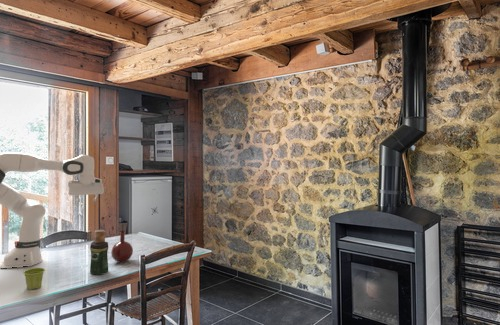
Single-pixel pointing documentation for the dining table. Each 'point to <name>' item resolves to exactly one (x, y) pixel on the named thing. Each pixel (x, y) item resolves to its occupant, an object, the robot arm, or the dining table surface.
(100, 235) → the walnut box
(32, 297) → the dining table surface
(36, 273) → the plant pot
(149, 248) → the dining table surface
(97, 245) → the coffee jar
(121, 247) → the round-bottom flask
